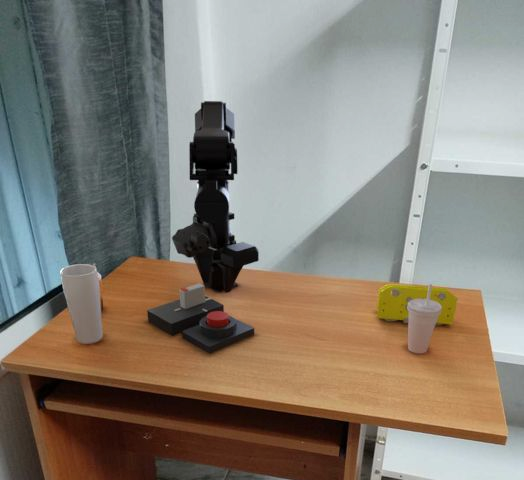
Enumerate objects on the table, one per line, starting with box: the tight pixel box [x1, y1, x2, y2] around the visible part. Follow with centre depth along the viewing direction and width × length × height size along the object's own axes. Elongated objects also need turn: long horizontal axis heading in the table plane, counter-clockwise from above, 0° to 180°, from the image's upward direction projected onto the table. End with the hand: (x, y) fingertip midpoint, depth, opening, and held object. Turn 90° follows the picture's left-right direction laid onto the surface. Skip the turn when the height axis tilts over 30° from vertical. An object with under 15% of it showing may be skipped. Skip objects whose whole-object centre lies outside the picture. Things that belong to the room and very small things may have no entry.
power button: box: [207, 311, 230, 327], centre depth 109 cm, size 4×4×2 cm
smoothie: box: [407, 283, 442, 354], centre depth 104 cm, size 6×6×14 cm
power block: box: [181, 315, 255, 355], centre depth 110 cm, size 12×9×4 cm
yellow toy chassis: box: [376, 283, 458, 326], centre depth 117 cm, size 16×6×8 cm, turn 79°
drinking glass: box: [60, 263, 104, 345], centre depth 106 cm, size 7×7×15 cm
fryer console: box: [146, 295, 225, 337], centre depth 117 cm, size 14×10×3 cm
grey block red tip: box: [179, 283, 206, 309], centre depth 117 cm, size 6×2×4 cm, turn 134°
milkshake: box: [93, 263, 104, 313], centre depth 120 cm, size 4×5×10 cm
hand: (216, 287), depth 106 cm, fingers open, 6 cm apart
